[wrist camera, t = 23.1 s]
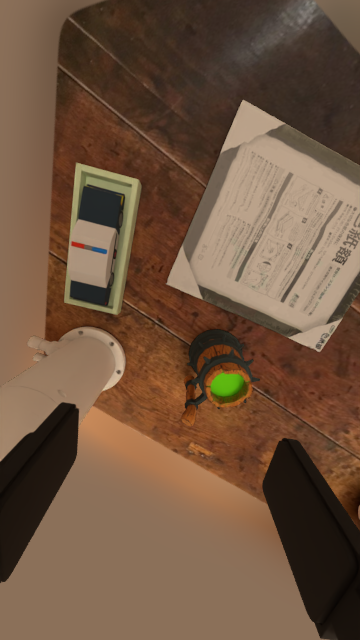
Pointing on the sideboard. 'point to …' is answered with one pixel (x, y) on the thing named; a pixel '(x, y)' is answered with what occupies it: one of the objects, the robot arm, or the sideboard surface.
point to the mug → (217, 373)
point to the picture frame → (276, 231)
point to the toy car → (95, 244)
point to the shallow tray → (130, 210)
